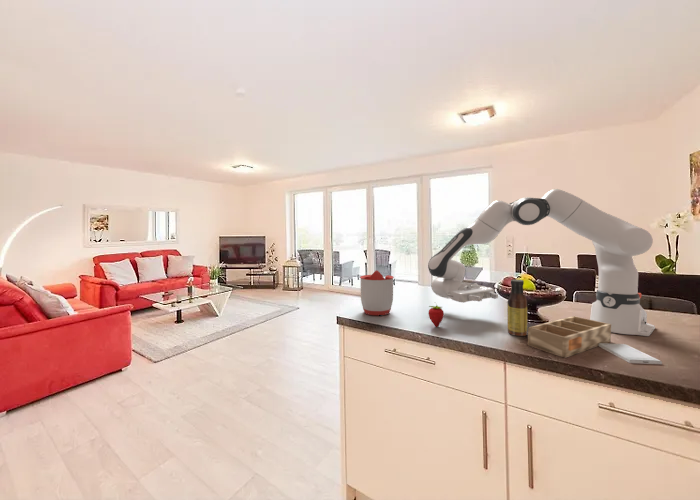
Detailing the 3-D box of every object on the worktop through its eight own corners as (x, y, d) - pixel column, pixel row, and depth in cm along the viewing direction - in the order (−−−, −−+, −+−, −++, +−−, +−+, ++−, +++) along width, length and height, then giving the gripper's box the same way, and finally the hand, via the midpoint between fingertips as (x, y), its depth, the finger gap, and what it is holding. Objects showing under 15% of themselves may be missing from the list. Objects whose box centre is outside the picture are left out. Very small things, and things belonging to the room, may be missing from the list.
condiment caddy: (573, 332, 109) (573, 316, 109) (612, 342, 99) (613, 324, 98) (527, 345, 97) (528, 327, 96) (566, 358, 86) (567, 338, 86)
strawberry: (428, 329, 113) (428, 303, 113) (428, 323, 121) (428, 299, 120) (444, 330, 112) (444, 304, 111) (443, 324, 119) (443, 300, 118)
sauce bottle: (516, 330, 111) (517, 278, 110) (531, 335, 105) (532, 280, 104) (502, 332, 109) (503, 279, 108) (517, 338, 103) (518, 281, 102)
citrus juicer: (398, 309, 143) (398, 268, 142) (388, 319, 127) (388, 273, 126) (368, 306, 150) (368, 267, 148) (354, 315, 134) (354, 271, 133)
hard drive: (598, 343, 95) (629, 359, 83) (626, 343, 94) (662, 360, 82) (598, 348, 96) (629, 364, 83) (626, 349, 94) (662, 366, 82)
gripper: (443, 286, 125) (470, 292, 112) (477, 282, 134) (505, 287, 122) (443, 301, 125) (470, 309, 113) (477, 296, 134) (505, 302, 122)
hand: (488, 297), depth 117 cm, fingers open, 8 cm apart
